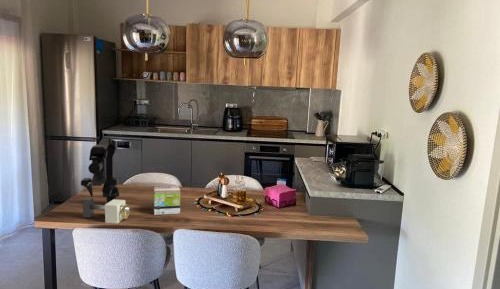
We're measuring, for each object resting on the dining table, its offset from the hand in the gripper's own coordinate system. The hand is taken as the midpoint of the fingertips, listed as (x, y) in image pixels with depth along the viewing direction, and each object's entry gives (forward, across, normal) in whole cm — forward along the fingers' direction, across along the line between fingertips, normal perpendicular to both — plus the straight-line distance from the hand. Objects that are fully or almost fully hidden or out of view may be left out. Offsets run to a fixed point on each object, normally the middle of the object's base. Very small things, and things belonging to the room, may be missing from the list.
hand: (100, 196), depth 211 cm
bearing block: (+13, +8, -1) cm, 15 cm away
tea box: (+14, +35, +10) cm, 39 cm away
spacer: (+8, +14, -3) cm, 16 cm away
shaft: (+12, +3, 0) cm, 12 cm away
